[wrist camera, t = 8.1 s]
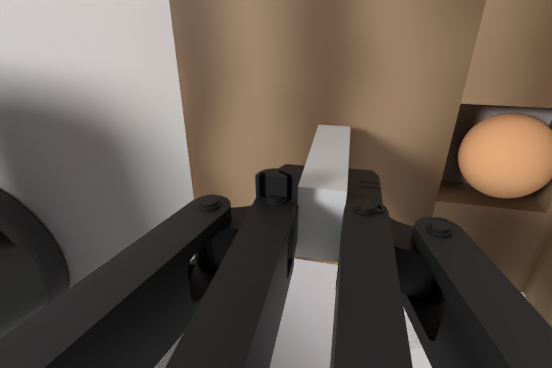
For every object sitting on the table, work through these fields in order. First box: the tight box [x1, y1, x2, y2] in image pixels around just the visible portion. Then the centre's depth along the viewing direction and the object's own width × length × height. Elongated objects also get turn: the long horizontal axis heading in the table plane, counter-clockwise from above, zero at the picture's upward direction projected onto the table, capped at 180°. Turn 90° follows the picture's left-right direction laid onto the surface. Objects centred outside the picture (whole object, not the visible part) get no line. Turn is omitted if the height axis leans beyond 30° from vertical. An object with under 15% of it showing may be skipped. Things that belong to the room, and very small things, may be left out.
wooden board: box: [169, 0, 552, 327], centre depth 17 cm, size 22×15×5 cm
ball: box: [458, 113, 552, 198], centre depth 16 cm, size 4×4×4 cm
